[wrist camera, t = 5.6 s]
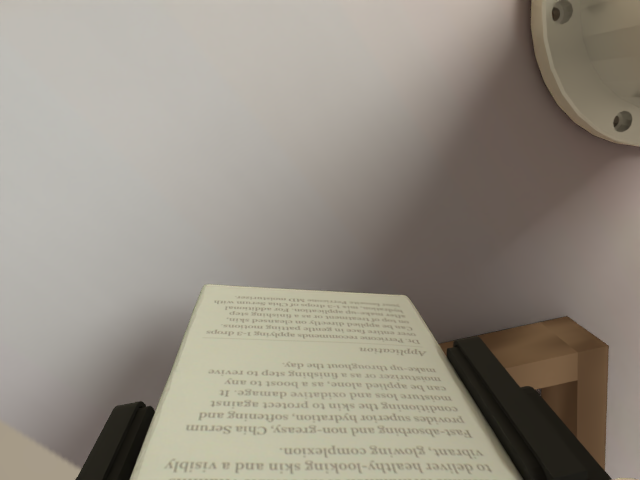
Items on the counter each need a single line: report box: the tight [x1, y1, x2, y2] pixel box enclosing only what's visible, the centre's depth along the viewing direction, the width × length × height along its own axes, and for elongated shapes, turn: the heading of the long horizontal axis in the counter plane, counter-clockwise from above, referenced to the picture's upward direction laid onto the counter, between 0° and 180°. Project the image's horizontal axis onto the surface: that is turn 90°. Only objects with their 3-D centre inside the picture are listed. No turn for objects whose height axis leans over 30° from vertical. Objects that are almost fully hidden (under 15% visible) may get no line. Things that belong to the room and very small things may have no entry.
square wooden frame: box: [439, 316, 609, 471], centre depth 24 cm, size 13×13×3 cm
